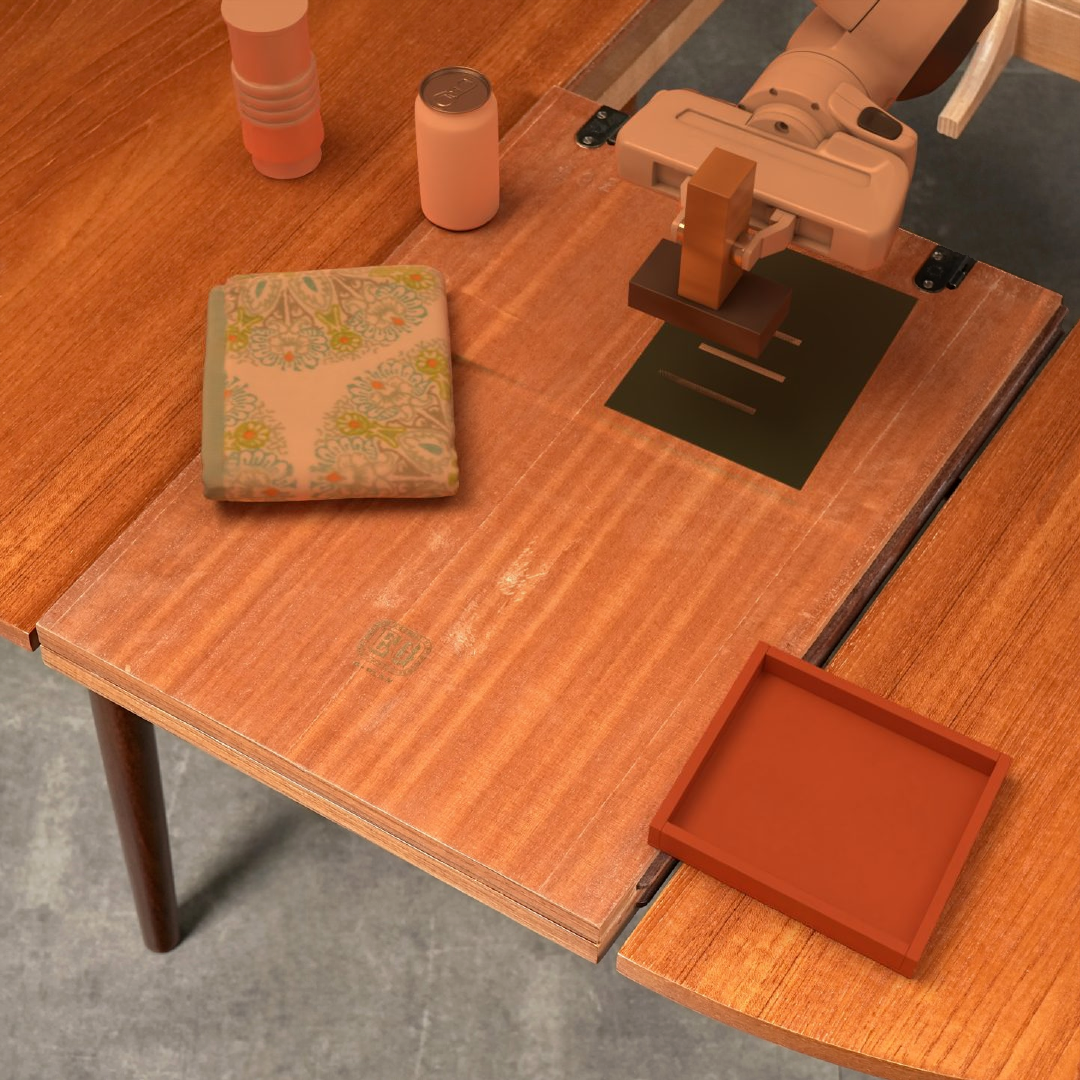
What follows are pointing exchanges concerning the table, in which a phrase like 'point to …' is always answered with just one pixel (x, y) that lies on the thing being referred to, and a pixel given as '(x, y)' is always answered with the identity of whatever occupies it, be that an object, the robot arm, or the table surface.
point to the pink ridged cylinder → (275, 84)
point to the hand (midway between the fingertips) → (709, 249)
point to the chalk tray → (831, 806)
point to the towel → (329, 386)
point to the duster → (712, 265)
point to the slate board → (771, 372)
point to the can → (457, 148)
